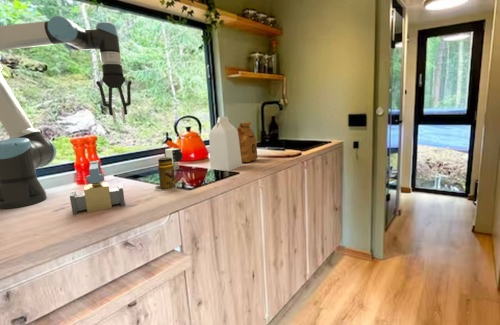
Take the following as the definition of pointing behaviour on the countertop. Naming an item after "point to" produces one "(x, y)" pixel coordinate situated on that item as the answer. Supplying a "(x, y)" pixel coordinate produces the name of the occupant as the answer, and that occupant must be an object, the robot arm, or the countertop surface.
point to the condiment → (166, 174)
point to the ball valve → (97, 197)
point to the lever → (95, 173)
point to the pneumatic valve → (174, 156)
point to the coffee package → (247, 143)
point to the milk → (224, 146)
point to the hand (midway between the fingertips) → (119, 123)
